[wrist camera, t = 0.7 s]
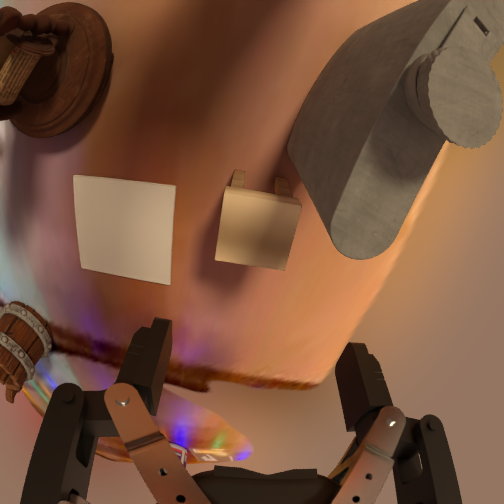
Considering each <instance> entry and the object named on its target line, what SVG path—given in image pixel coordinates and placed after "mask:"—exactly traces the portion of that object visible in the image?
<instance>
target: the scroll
mask: <svg viewBox="0 0 504 504" xmlns="http://www.w3.org/2000/svg"><path fill="white" fill-rule="evenodd" d="M113 57H114V55H113V53H112V43H111V37H110V33H109V29H108V27H107V25H106V23H105V21H104V19H103V18H102V17H101V16H100V15H99V14H98V13H97V12H96V11H95V10H93V9H92V8H90V7H88V6H85V5H82V4H79V3H73V2H66V3H60V4H56V5H53V6H50V7H48V8H46V9H44V10H42V11H41V12H39V13H38V14H36V15H34V14H28V15H24V16H22V14H21V13H20V12H19V11H18V10H17V9H15V8H12V7H9V6H6V7H3V8H1V9H0V121H3V120H8V119H10V121H11V122H12V124H13V125H14V126H15V127H16V128H17V129H18V130H19V131H21V132H22V133H24V134H26V135H28V136H31V137H35V138H48V137H52V136H55V135H58V134H61V133H64V132H66V131H68V130H69V129H71V128H73V127H74V126H75V125H77V124H78V123H79V122H80V121H81V120H83V119H84V117H85V116H86V115H87V114H88V113H89V112H90V111H91V109H92V108H93V107H94V105H95V104H96V102H97V100H98V99H99V97H100V95H101V93H102V91H103V89H104V86H105V84H106V81H107V78H108V75H109V71H110V66H111V60H112V59H113Z"/></svg>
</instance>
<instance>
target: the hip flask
mask: <svg viewBox="0 0 504 504" xmlns="http://www.w3.org/2000/svg"><path fill="white" fill-rule="evenodd" d="M503 44H504V2H503V0H418V1H416V2H414V3H411V4H409V5H407V6H405V7H402V8H400V9H398V10H396V11H394V12H392V13H390V14H387V15H385V16H383V17H381V18H379V19H377V20H375V21H373V22H372V23H370V24H368V25H366V26H364V27H362V28H360V29H358V30H357V31H355V32H354V33H353V34H352V35H351V36H350V37H349V38H348V39H347V40H346V41H345V42H344V43H343V44H342V45H341V47H340V48H339V49H338V50H337V51H336V53H335V54H334V55H333V56H332V58H331V59H330V60H329V62H328V63H327V65H326V66H325V68H324V69H323V70H322V72H321V74H320V75H319V77H318V78H317V80H316V82H315V83H314V85H313V87H312V88H311V90H310V92H309V94H308V96H307V98H306V100H305V102H304V104H303V106H302V108H301V110H300V112H299V114H298V117H297V119H296V121H295V124H294V127H293V129H292V132H291V135H290V138H289V141H288V144H287V152H288V155H289V157H290V159H291V161H292V163H293V164H294V166H295V168H296V170H297V172H298V174H299V176H300V178H301V180H302V181H303V183H304V185H305V187H306V189H307V191H308V193H309V195H310V197H311V199H312V201H313V203H314V205H315V207H316V209H317V211H318V213H319V215H320V217H321V219H322V221H323V223H324V225H325V228H326V230H327V232H328V234H329V236H330V238H331V240H332V242H333V244H334V246H335V247H336V249H337V250H338V251H339V252H340V253H341V254H343V255H344V256H346V257H349V258H351V259H357V260H364V259H369V258H373V257H375V256H378V255H379V254H381V253H383V252H384V251H385V250H386V249H388V248H389V247H390V245H391V244H392V243H393V242H394V240H395V238H396V237H397V235H398V233H399V230H400V228H401V226H402V224H403V222H404V220H405V218H406V216H407V214H408V212H409V210H410V208H411V206H412V204H413V202H414V200H415V198H416V196H417V194H418V192H419V190H420V188H421V186H422V184H423V182H424V180H425V178H426V176H427V175H428V173H429V171H430V169H431V167H432V165H433V163H434V161H435V159H436V157H437V155H438V154H439V152H440V150H441V148H442V146H443V144H444V143H445V141H446V140H447V141H449V142H450V143H455V144H456V145H458V146H462V147H464V148H468V147H469V148H471V149H472V148H475V147H478V148H479V147H480V146H481V145H485V144H486V143H487V142H488V141H490V140H491V138H492V136H493V135H495V133H496V131H497V129H498V127H499V123H500V120H501V114H502V110H503V109H502V96H501V90H500V87H499V82H498V80H497V78H496V75H495V73H494V72H493V70H492V69H491V66H490V65H489V63H490V62H491V60H492V59H493V57H494V56H495V54H496V53H497V52H498V50H499V49H500V48H501V46H502V45H503Z"/></svg>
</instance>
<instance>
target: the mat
mask: <svg viewBox="0 0 504 504" xmlns="http://www.w3.org/2000/svg"><path fill="white" fill-rule="evenodd" d="M73 183H74V203H75V216H76V227H77V237H78V245H79V253H80V261H81V267H82V268H84V269H88V270H93V271H98V272H103V273H108V274H113V275H118V276H123V277H128V278H133V279H139V280H144V281H149V282H155V283H161V284H166V285H170V284H171V264H172V242H173V225H174V210H175V197H176V186H174V185H167V184H159V183H151V182H142V181H134V180H124V179H115V178H105V177H95V176H84V175H74V176H73Z"/></svg>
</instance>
